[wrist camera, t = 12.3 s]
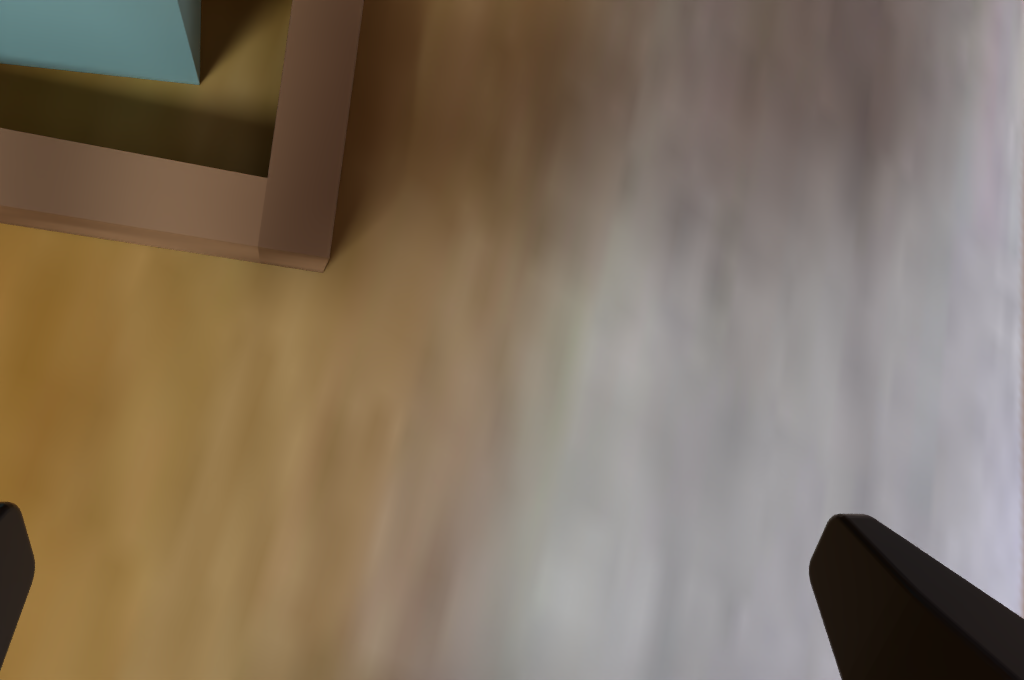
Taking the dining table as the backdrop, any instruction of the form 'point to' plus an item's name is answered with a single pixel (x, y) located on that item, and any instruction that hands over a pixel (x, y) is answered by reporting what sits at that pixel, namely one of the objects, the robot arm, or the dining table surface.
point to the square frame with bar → (204, 190)
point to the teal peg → (105, 37)
